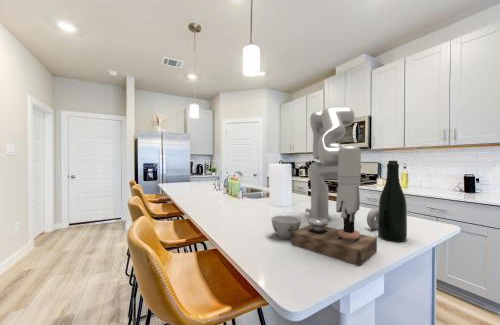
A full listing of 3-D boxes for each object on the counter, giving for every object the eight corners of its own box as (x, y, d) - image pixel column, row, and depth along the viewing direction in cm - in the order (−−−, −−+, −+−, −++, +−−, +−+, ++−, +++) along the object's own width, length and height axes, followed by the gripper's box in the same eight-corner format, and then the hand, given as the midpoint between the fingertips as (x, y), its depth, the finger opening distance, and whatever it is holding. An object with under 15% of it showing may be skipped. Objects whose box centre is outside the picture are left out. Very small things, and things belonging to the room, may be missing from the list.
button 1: (305, 233, 92) (305, 219, 92) (314, 229, 97) (314, 216, 97) (322, 238, 87) (322, 223, 87) (331, 233, 92) (331, 219, 92)
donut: (371, 231, 107) (371, 210, 106) (364, 229, 110) (365, 208, 110) (385, 228, 111) (385, 208, 111) (378, 226, 114) (378, 206, 114)
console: (291, 244, 92) (291, 231, 91) (312, 234, 103) (312, 223, 103) (360, 265, 73) (360, 250, 73) (376, 251, 84) (376, 237, 84)
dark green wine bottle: (405, 236, 100) (406, 160, 100) (407, 244, 91) (408, 160, 91) (378, 232, 106) (379, 160, 105) (377, 239, 97) (378, 160, 96)
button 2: (334, 246, 84) (334, 231, 84) (342, 241, 89) (343, 227, 89) (354, 252, 79) (354, 236, 78) (362, 246, 84) (362, 231, 84)
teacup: (306, 239, 97) (306, 220, 96) (280, 243, 92) (280, 223, 92) (288, 229, 111) (288, 212, 111) (264, 232, 106) (264, 214, 106)
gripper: (347, 179, 91) (347, 225, 91) (329, 181, 80) (329, 234, 81) (367, 180, 86) (367, 229, 86) (351, 183, 75) (351, 239, 75)
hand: (348, 231), depth 83 cm, fingers closed
